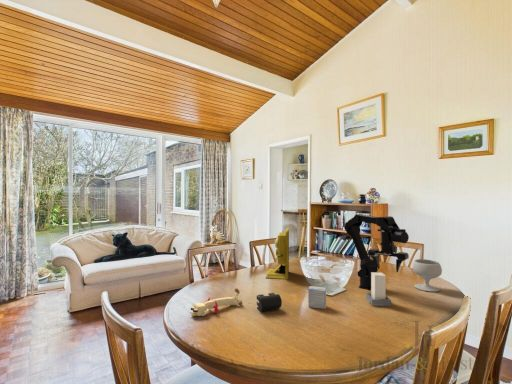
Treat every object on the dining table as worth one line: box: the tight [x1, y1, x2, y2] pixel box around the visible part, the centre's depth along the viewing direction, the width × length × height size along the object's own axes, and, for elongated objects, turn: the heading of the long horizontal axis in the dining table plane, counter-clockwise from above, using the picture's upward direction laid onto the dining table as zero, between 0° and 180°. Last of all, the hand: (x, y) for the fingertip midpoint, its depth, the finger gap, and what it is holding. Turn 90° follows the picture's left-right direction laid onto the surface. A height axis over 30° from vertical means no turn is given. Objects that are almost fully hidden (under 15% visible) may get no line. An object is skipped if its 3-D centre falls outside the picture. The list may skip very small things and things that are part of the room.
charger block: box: [370, 271, 387, 299], centre depth 137 cm, size 5×5×13 cm
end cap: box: [256, 292, 283, 313], centre depth 128 cm, size 10×7×7 cm
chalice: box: [412, 258, 443, 293], centre depth 157 cm, size 14×14×15 cm
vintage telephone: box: [265, 227, 290, 281], centre depth 182 cm, size 31×14×30 cm, turn 172°
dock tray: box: [365, 292, 392, 308], centre depth 137 cm, size 9×9×3 cm
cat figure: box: [189, 287, 243, 317], centre depth 128 cm, size 10×9×25 cm
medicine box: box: [307, 285, 327, 310], centre depth 132 cm, size 8×4×9 cm, turn 71°
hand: (387, 270), depth 146 cm, fingers open, 9 cm apart
